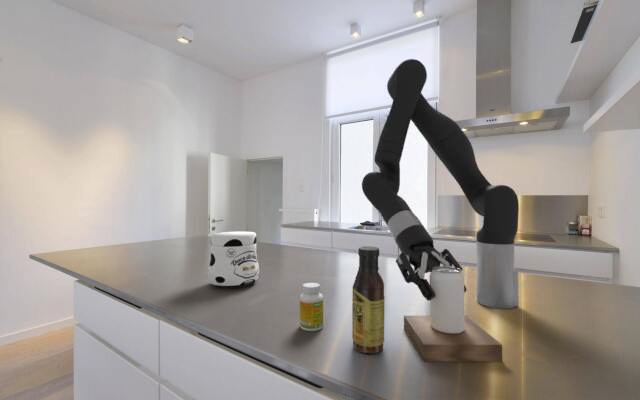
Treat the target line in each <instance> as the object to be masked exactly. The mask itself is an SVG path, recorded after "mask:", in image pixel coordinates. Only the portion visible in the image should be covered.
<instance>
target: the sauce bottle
mask: <svg viewBox="0 0 640 400" xmlns="http://www.w3.org/2000/svg"><path fill="white" fill-rule="evenodd" d="M357 255H358V256H359V257H358V263H359V264H358V270H357V272H356V276H355V279H354V282H353V284H352V299H351V301H352V306H351V307H352V310H351V311H352V315H351V316H352V318H351V319H352V321H351V322H352V327H351V328H352V329H351V332H352V335H351V336H352V344H353V348H354V349H355V350H357V351H358V352H359V353H362V354H377V353H380V352H382V351H383V349H384V342H385V297H386V296H385V283H384V280H383V278H382V276H381V274H380V273H379V269H380V267H379V257H380V248H379V247H377V246H376V247H375V246H368V245H367V246H360V247H358V251H357Z"/></svg>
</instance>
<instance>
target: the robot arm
mask: <svg viewBox="0 0 640 400" xmlns="http://www.w3.org/2000/svg"><path fill="white" fill-rule="evenodd" d="M427 77H428V73H427V69H426V66H425V65H424V64H423V62H421V61H419V60H418V59H414V58H409V59H405V60H403V61H402V62H401V63H399V64H398V65H397V66H396V68H395V69H394V70H393V72H392V73H391V75H390V77H389V78H388V80H387V85H386V88H387V93H388V95H389V97H390V98H391V100H392V103H391V106H390V109H389V112H388V116H387V118H386V120H385V123H384V125H383V127H382V129H381V133H380V136H379V138H378V143H377V147H376V150H375V154H374V162H375V164H376V166H377V167H378V168H379V172H378V171H370V172H368V173H367V174H365V175H364V176H363V178H362V180H361V181H362V182H361V189H362V192H363V194H364V196H365V198H366V199H367V200H368V201H369V202H370V204H371V205H372V206H373V207H374V208H375V209H376V210H377V211H378V212H379V214H380V216H381V217H382V219H383V221H384V223H385V224H386V227H387V228H388V230H389V233H390V235H391V237H392V238H393V240H394V242H395V244H396V245H397V248H398V249H399V251H400V254H399V255H398V257H397V258H396V259H395V263H396V265H397V267H398V268H399V271H400V273H401V276H402V277H403V280H404V281H405V282H406V283H407V284H411V283H413V284H415V285H416V286H417V289H419V292H420V293H421V295H422V296H423V297H424V299H426V301H429V302H430V300H432V299H433V298H434V297H435V293H434V291H433V289H432V288H431V286H430V282H429V281H428V279H427V278H425V277H426V276H425V274H428V273H431V272H432V268H433V267H438V266H441V265H442V266H446V267H454V268H458V269H461V270H462V271H463V267H462V266H461V265H460V263H459V262H458V261H457V260H456V258H455V257H454V255H452V253H451V252H450V250H449V249H447V248H444V249H443V250H441V251H438V250H437V249H436V248H435V247H434V239H433V238H432V236H431V235H430V233H429V232H428V230H427V229H426V227H425V226H424V224H423V223H422V221H421V220H420V218H419V217H418V216H417V215H416V214H415V213H414V212H413V210H412V209H411V208H410V206H409V204H408V203H407V202H406V200H404V198H403V197H402V196H400V195H398V193H399V191H400V186H401V168H400V167H401V166H400V165H401V164H400V163H401V159H402V156H403V151H404V147H405V142H406V139H407V135H408V132H409V127H410V124H411V122H412V123H413V124H414V126H415V127H416V129H417V130H418V131H419V132H420V134H421V135H422V136H423V138H424V139H425V141H426V142H427V143H428V146H429V147H430V148H431V150H432V151H433V152H434V154H435V155H436V156H437V158H438V159H439V160H440V162H441V163H442V164H443V166H444V167H445V168H446V170H447V171H448V172H449V174H450V175H451V176H452V177H453V179H454V180H455V181H456V182H457V184H458V185H459V187H460V189H461V190H462V192H463V194H464V196H465V198H466V199H467V201H468V203H469V204H470V207H471V208H472V209H473V211H474V212H475V213H476V214H477V215H479V216H481V217H483V221H482V223H483V225H482V227H481V228H480V229H479V230H478V231H477V232H476V238H475V239H476V240H475V241H476V302H477V303H478V304H480V305H481V306H482V305H483V306H484V307H485V306H486V307H489V308H492V309H502V310H503V309H504V310H507V309H508V310H509V309H513V308H517V307H519V303H520V302H519V301H520V300H519V272H518V271H517V270H516V269H515V237H516V236H517V233H518V229H519V228H518V227H519V210H520V208H519V198H518V196H517V193H516V192H515V190H514V189H513V188H512V187H510V186H508V185H505V184H495V185H493V184H491V183H490V181H489V180H488V179H487V177H485V175H484V174H483V173H482V171H481V170H480V168H479V166H478V163H477V161H476V156H475V152H474V149H473V145H472V143H471V141H470V139H469V138H468V136H467V134H465V132H464V131H463V129H462V127H460V125H459V123H457V122H456V121H455V120H453V118H451V117H449V116H447V115H446V114H444V113H442V112H441V111H438V110H437V109H435V107H433V106H432V105H431V104H430V103H429V101H428V100H427V98H426V97H425V96H424V95H423V93H422V92H423V89H424V86H425V84H426V83H427ZM466 292H467V287H466V285H465V284H464V294H465V293H466Z"/></svg>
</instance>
